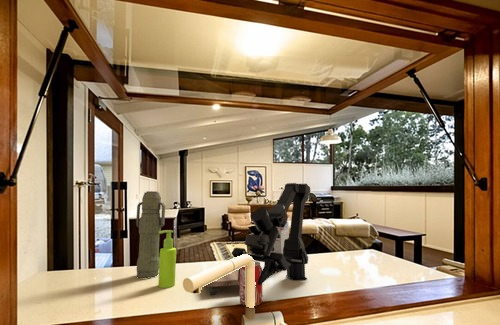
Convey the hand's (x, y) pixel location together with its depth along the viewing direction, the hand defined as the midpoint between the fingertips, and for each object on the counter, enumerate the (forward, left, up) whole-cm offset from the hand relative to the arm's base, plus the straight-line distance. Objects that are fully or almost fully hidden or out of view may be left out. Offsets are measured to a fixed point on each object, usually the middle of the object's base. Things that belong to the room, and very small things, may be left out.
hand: (248, 282), depth 82 cm
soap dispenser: (+24, -27, -7) cm, 37 cm away
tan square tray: (+3, -18, -7) cm, 19 cm away
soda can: (-1, -1, -7) cm, 7 cm away
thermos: (+31, -43, -7) cm, 53 cm away
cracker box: (-28, -41, -7) cm, 50 cm away
